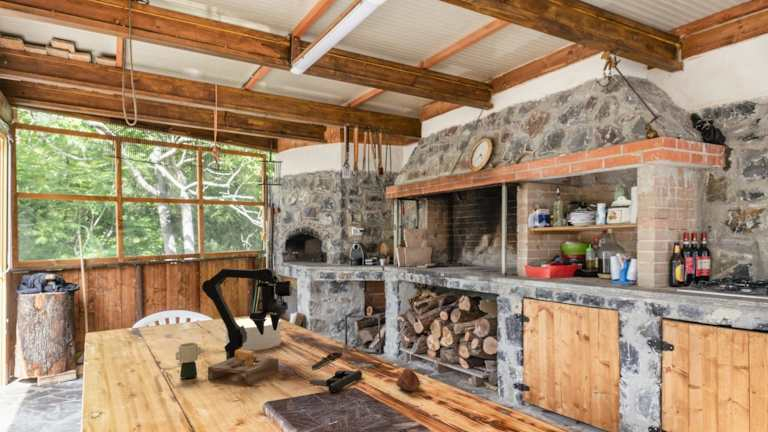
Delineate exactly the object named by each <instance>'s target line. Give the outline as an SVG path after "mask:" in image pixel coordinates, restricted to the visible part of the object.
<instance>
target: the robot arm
mask: <svg viewBox="0 0 768 432" xmlns="http://www.w3.org/2000/svg"><path fill="white" fill-rule="evenodd" d="M228 278H231V279H233V278H234V279H252V280H256V281H259V283H258V284H256V286H255V287H256V288H260V295H261V296H260V297H261V298H260V299H259V300H258V302H259V303H260V304H261V305H260V306H261V307H260V308H259V309H258V310H259V311H257V310H256V311H253V312H250V314H249V318H250V319H252V321H253V322H254V323H255V325H256V326H257V328H258V330H259V332H260V334H261V335H263V333H264V322H265V321H266V319H265V318H267V316H270V317H269V318H271V322H272V326H273V330H276V329H277V326H278V322H279V319H280V320H281V318H282V316H284V315H285V314H286V313H287V312H286V310H288V309H289V308H288V302H287V301H282V302H278V299H277V298H275V295H276V296H277V297H292V295H293V286H292V284H291V283H292V282H291V280H282V281H281V280H280V279H279V278H278V277H277V276H276V272H275V270H274V268H271V267H265V268H257V269H247V268H246V269H242V268H241V269H240V268H228V267H226V268H222V269H220V270H219V272H217V273H216V274H214V275H213V276H212V277H211V278H210V279H208V280H207V279H206V280H205V281H203V283H202V285H201V290H202V291H203V292H204V294H205V295H206V296H207V297H208V298H209V299H210V300H211V301H212V302H213V304H214V306H215V308H216V310H217V312H218V314H219V316H220V317H221V320H222V322H223V324H224V327H225V326H226V328H227V331H228V338H229V341H230V342H229V343H228V344H227V345H226V346H225V345H224V350H225V357H226V359H225V360H228V359H230V358H233V357H235V350H238V349H241V347H242V346H243V343H245V342H246V340H247V332H246V331H245V329H244V326H241V327H240V326H239V325H238V324H237V323H236V321H235V320H236V319H235V317H234V315H233V313H232V312H231V310H230V308H229V306H228V303H227V301H226V300H225V298H224V296H223V289H222V284H223V283H224V282H225V281H227V279H228ZM226 328H225V329H226Z"/></svg>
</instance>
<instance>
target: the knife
mask: <svg viewBox="0 0 768 432" xmlns="http://www.w3.org/2000/svg"><path fill="white" fill-rule="evenodd" d="M342 355H343V353H342V352H340V351H339V352H338V351H337V352H332V353H329V354H326V356H325V357H324V356H321V360H320V361H318V362H316V363H314V364H313V365H311V366H310V367H311V369H312V371H313V370H317V369H321V368H322V367H324V366H325V365H326V364H328V363H330V362H332V361H335V360H337V359H339V358H340V357H341V356H342Z"/></svg>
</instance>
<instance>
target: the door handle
mask: <svg viewBox="0 0 768 432" xmlns="http://www.w3.org/2000/svg"><path fill="white" fill-rule="evenodd" d="M362 376H363V372H362V371H361V370H360V369H359V370H336V371H335V373H334V376H332V377H330V378H327V379H316V378H311V379H310V380H309V384H311V385H317V386H322V387H323V386H325V387H327V388H328V392H329V393H331V392H334V391H337V392H338V391H340V390H342V389H345V388H348V387H349V386H350V385H352V384H354V383H356V381H357V380H359V379H361V378H362ZM334 393H335V392H334Z"/></svg>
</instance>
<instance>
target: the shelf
mask: <svg viewBox="0 0 768 432" xmlns="http://www.w3.org/2000/svg"><path fill="white" fill-rule="evenodd" d="M240 364H242V365H240ZM244 364H245V360H239V361H236V362H234V357H233V358H230V359H228V360H226V359H225V360H222V361H220V362H216V363H215V364H212V365H209V366H208V367H207V380H208V381H213V380H216V379H218V378H221V377H224V376H225V375H229V374H231V373H234V374H243V375H245V379H244V380H245V381H244V382H245V385H252V384H254V383H257V382H258V381H260V380H263V379H265V378H267V377H269V376H271V375H273V374H275V373H277V372H279V358H275V357H265V356H263V357H262V356H258V355H257V353H256V354H255V353H254V359H253V365H251V366H249V367H245V365H244ZM237 365H239V366H237Z"/></svg>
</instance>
